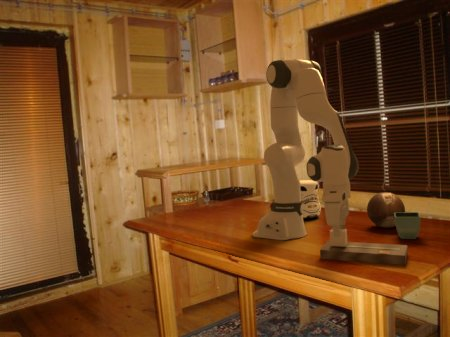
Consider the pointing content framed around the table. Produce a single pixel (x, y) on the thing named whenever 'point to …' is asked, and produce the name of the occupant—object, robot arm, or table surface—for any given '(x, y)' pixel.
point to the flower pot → (407, 224)
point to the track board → (366, 253)
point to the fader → (338, 238)
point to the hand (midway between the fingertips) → (339, 233)
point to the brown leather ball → (384, 209)
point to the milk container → (310, 199)
